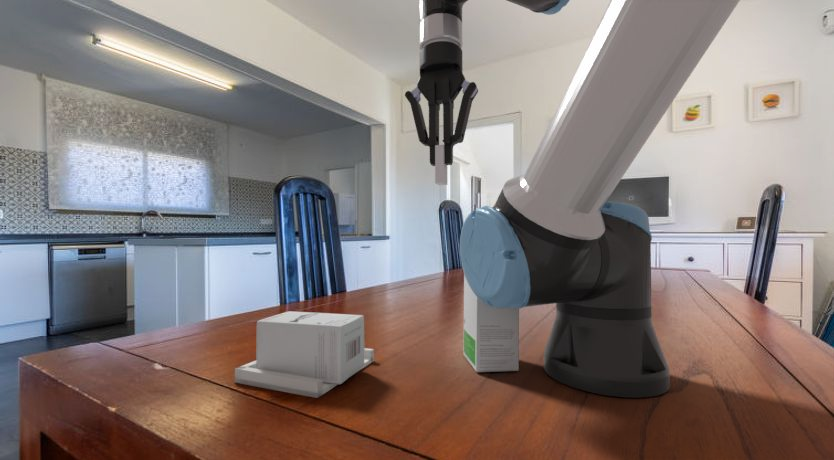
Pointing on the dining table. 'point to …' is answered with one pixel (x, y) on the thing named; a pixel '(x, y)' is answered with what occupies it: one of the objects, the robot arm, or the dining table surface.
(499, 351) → the skincare box
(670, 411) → the dining table surface
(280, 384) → the grey tray
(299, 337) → the supplement box
